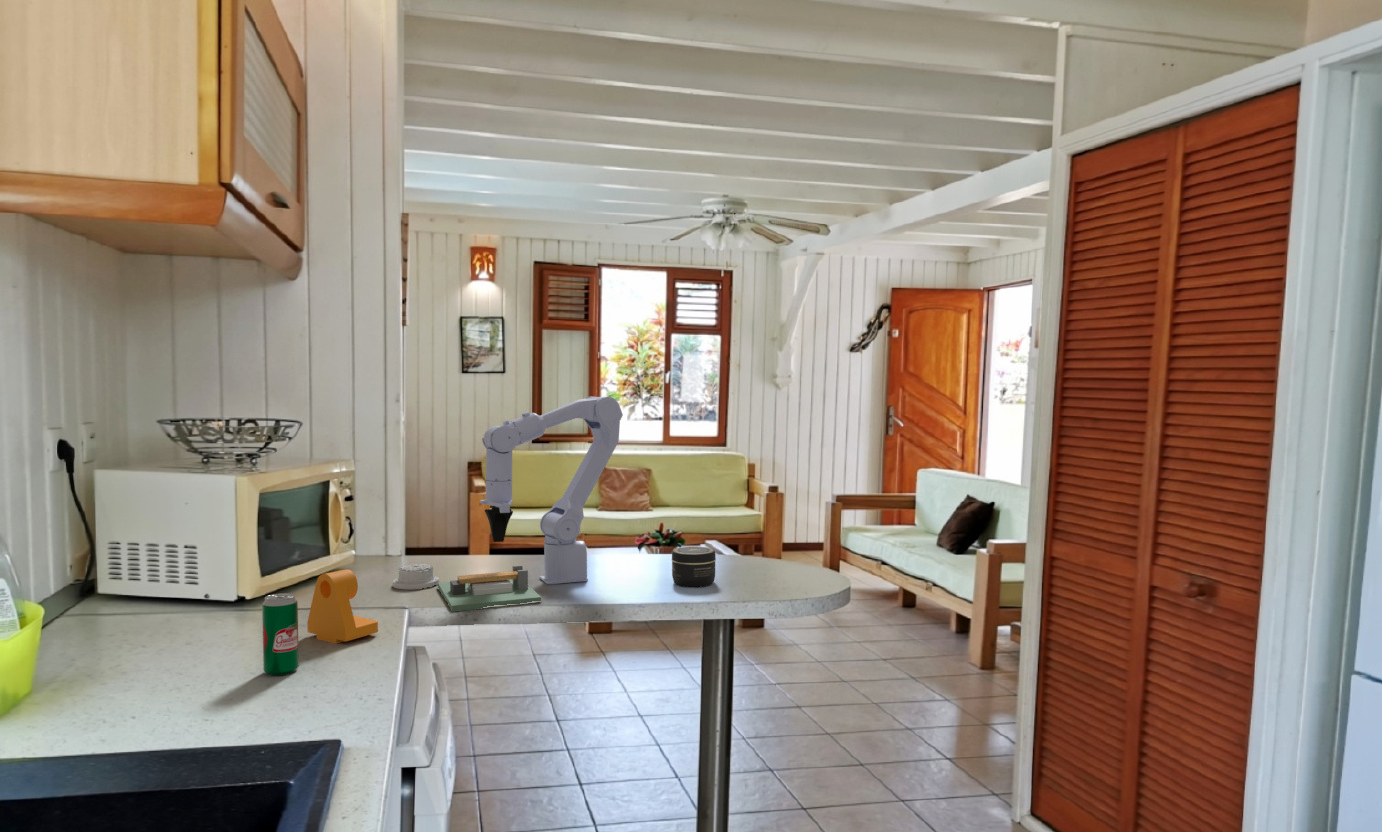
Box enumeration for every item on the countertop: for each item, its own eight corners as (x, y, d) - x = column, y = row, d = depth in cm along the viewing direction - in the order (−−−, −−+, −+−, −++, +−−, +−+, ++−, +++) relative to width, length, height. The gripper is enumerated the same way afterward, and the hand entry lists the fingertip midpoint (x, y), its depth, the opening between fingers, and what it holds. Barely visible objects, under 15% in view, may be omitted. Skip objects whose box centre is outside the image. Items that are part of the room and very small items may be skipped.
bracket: (380, 636, 161) (379, 570, 160) (345, 646, 154) (344, 577, 154) (342, 627, 166) (341, 563, 166) (307, 636, 160) (306, 570, 160)
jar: (664, 581, 204) (664, 548, 204) (702, 577, 208) (702, 544, 208) (684, 590, 195) (683, 555, 195) (723, 585, 200) (723, 551, 199)
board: (518, 581, 204) (518, 558, 204) (541, 602, 184) (540, 577, 184) (437, 588, 197) (437, 564, 197) (451, 611, 177) (451, 585, 177)
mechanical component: (386, 591, 196) (431, 591, 196) (386, 571, 196) (431, 571, 196) (401, 581, 206) (444, 581, 206) (401, 562, 206) (444, 562, 206)
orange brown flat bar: (521, 575, 195) (521, 569, 195) (525, 579, 192) (525, 572, 192) (457, 581, 190) (457, 574, 190) (460, 585, 187) (460, 578, 186)
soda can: (276, 678, 137) (274, 601, 137) (256, 673, 140) (255, 597, 139) (305, 669, 141) (304, 594, 141) (286, 664, 144) (284, 591, 144)
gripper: (475, 477, 202) (474, 537, 202) (486, 483, 189) (485, 547, 189) (506, 476, 205) (505, 535, 205) (519, 483, 191) (518, 546, 192)
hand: (498, 541), depth 197 cm, fingers closed
